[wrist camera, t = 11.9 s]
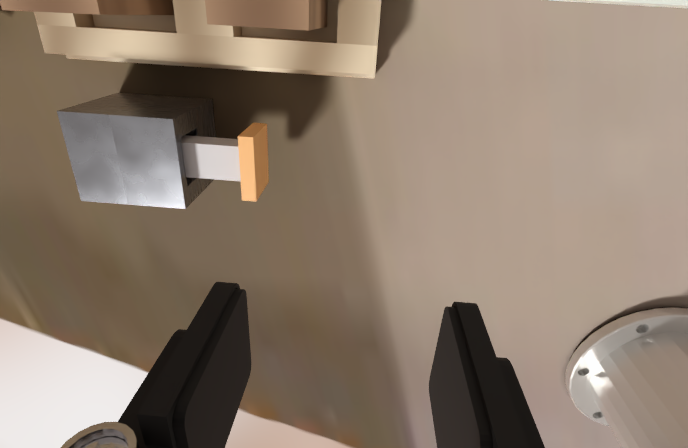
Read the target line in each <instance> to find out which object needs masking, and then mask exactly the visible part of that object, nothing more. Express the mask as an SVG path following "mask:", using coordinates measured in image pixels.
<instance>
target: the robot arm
mask: <svg viewBox="0 0 688 448" xmlns="http://www.w3.org/2000/svg"><path fill="white" fill-rule="evenodd" d="M250 371H251V353H250V339H249V325H248V311H247V297H246V291H245V290H243V289H240V287H239V284H237V283H225V282H216V283H215V284H214V285H213V287H212V289H211V290H210V292H209V294H208V295H207V297H206V299H205V300H204V302H203V304H202V305H201V307H200V309H199V310H198V312H197V314H196V316H195V317H194V319H193V321H192V322H191V324H190V326H189V327H188V329H187V330H180V329H179V330H177V331H176V332H175V333H174V334H173V336H172V337H171V339H170V340H169V342H168V343H167V345H166V346H165V348H164V350H163V351H162V353H161V354H160V356H159V358H158V359H157V361H156V362H155V364H154V365H153V367H152V369H151V370H150V372H149V373H148V375H147V377H146V378H145V380H144V381H143V383H142V384H141V386H140V388H139V389H138V391H137V392H136V394H135V395H134V397H133V399H132V401H131V402H130V403H129V405H128V407H127V408H126V410H125V411H124V413H123V414H122V416H121V418H120V419H119V421H118V422H104V423H101V424H97V425H93V426H90V427H89V428H86V429H84V430H82V431H80V432H78V433H77V434H76V435H74V436H73V437H72V438H70V439H69V440H68V441H66V442H65V444H64V445H63V446H62V447H61V448H225V445H226V442H227V439H228V436H229V434H230V431H231V428H232V425H233V422H234V419H235V416H236V413H237V410H238V408H239V405H240V402H241V399H242V396H243V393H244V390H245V387H246V385H247V382H248V379H249V376H250ZM565 382H566V388H567V390H568V393H569V395H570V397H571V399H572V401H573V402H574V404H575V406H576V407H577V408H578V410H579V411H580V412H581V413H582V414H583V415H585V416H586V417H588V418H589V419H591V420H593V421H595V422H598V423H600V424H603V425H606V426H609V427H610V429H611V430H612V432H613V434H614V435H615V437H616V439H617V441H618V442H619V444H620V446H621V448H688V309H686V308H674V307H672V308H656V309H651V310H645V311H640V312H636V313H633V314H630V315H627V316H624V317H621V318H619V319H617V320H615V321H613V322H611V323H608V324H606V325H605V326H603V327H602V328H600V329H599V330H597V331H595V332H594V333H592V334H591V335H590V336H589V337H588V338H587V339H586V340H585V341H584V342H582V343H581V344H580V346H579V347H578V348H577V350H576V351H575V352H574V353H573V355H572V357H571V359H570V361H569V363H568V365H567V369H566V374H565ZM429 394H430V401H431V408H432V415H433V421H434V428H435V435H436V442H437V448H545V447H544V444H543V442H542V439H541V437H540V434H539V432H538V429H537V427H536V424H535V422H534V419H533V417H532V414H531V412H530V409H529V407H528V404H527V402H526V399H525V396H524V394H523V391H522V389H521V386H520V384H519V381H518V379H517V376H516V374H515V371H514V369H513V366H512V364H511V363H510V361H509V360H508V359H507V358H498V357H496V355H495V352H494V349H493V347H492V344H491V341H490V338H489V335H488V333H487V330H486V327H485V324H484V322H483V319H482V316H481V313H480V310H479V308H478V306H477V304H475V303H463V302H454V303H453V304H452V307H445V310H444V314H443V319H442V323H441V328H440V333H439V337H438V342H437V347H436V351H435V356H434V361H433V365H432V370H431V375H430V380H429Z"/></svg>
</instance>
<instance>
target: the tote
mask: <svg viewBox="0 0 688 448" xmlns="http://www.w3.org/2000/svg"><path fill="white" fill-rule="evenodd" d="M550 1H567V2H585V3H602V4H619V5H636V6H653V7H670V8H688V0H550Z"/></svg>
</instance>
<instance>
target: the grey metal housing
mask: <svg viewBox="0 0 688 448" xmlns="http://www.w3.org/2000/svg"><path fill="white" fill-rule="evenodd" d="M57 113H58V117H59V121H60V124H61V128H62V132H63V136H64V139H65V143H66V147H67V150H68V154H69V158H70V161H71V165H72V169H73V172H74V176H75V180H76V183H77V187H78V191H79V195H80V198H81V201H90V202H103V203H116V204H129V205H142V206H155V207H167V208H180V209H186V208H187V207H188V206H189V205H190V204H191V203H192V202H193V201H194V200H195V199H196V198H197V197H198V196H199V195H200V194H201V193H202V191H203V190H204V189H205V188H206V187H207V186H208V185H209V184H210V183H211V182H212V181H213V180H214V179H203V178H190V177H186V173H185V165H184V158H183V151H182V143H181V137H182V136H184V135H187V136H201V137H215V138H216V133H215V122H214V112H213V101H212V99H204V98H189V97H175V96H160V95H145V94H130V93H116V94H113V95H109V96H106V97H103V98H99V99H96V100H93V101H89V102H86V103H82V104H79V105H76V106H72V107H69V108H66V109H62V110H59V111H57Z"/></svg>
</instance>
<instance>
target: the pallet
mask: <svg viewBox="0 0 688 448" xmlns="http://www.w3.org/2000/svg"><path fill="white" fill-rule="evenodd" d="M173 7H174V15H96V14H75V13H54V12H34V14H35V18H36V22H37V25H38V29H39V33H40V37H41V40H42V44H43V48H44V51H45V53H50V54H65V55H66V57H67V58H68V59H84V60H99V61H114V62H130V63H145V64H160V65H175V66H191V67H206V68H221V69H236V70H252V71H267V72H282V73H298V74H313V75H328V76H343V77H359V78H374V77H375V70H376V58H377V47H378V35H379V23H380V11H381V0H328V10H327V27H323V28H319V29H314V30H309V31H307V30H291V29H275V28H258V27H242V26H226V25H210V24H207V17H206V6H205V0H173Z"/></svg>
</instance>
